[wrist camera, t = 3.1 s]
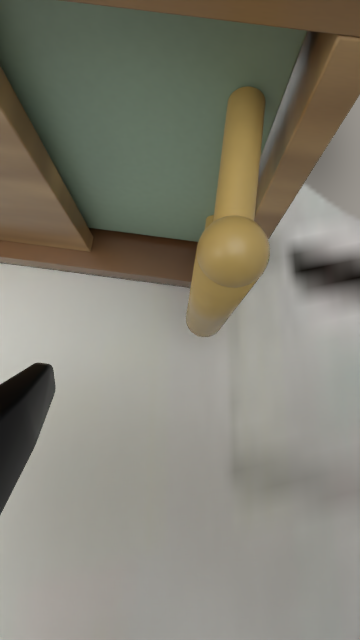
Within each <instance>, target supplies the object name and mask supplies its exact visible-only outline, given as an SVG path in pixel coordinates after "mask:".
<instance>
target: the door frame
mask: <svg viewBox="0 0 360 640" xmlns="http://www.w3.org/2000/svg"><path fill="white" fill-rule="evenodd" d="M59 1H67V2H75V3H84V4H92V5H100V6H108V7H116V8H125V9H133V10H141V11H149V12H157V13H166V14H174V15H182V16H190V17H198V18H207V19H215V20H223V21H231V22H239V23H248V24H256V25H264V26H272V27H280V28H289V29H297V30H305V31H308V32H307V34H306V37H305V40H304V42H303V45H302V48H301V50H300V53H299V56H298V58H297V61H296V64H295V67H294V69H293V72H292V75H291V77H290V80H289V83H288V85H287V88H286V91H285V93H284V96H283V99H282V101H281V104H280V107H279V109H278V112H277V115H276V118H275V120H274V123H273V126H272V128H271V131H270V134H269V136H268V139H267V142H266V144H265V147H264V150H263V152H262V155H261V158H260V166H259V176H258V187H257V197H256V208H255V219H254V222H256V223H257V224H258V225H259V226H260V227H261V228H262V229H263V231H264V232H265V234H266V236H267V238H268V239H269V238H270V236H271V234H272V233H273V231H274V230H275V228H276V226H277V225H278V223H279V222H280V220H281V219H282V217H283V215H284V214H285V212H286V211H287V209H288V208H289V206H290V204H291V203H292V201H293V200H294V198H295V196H296V195H297V193H298V192H299V190H300V189H301V187H302V185H303V184H304V182H305V181H306V179H307V177H308V176H309V174H310V173H311V171H312V170H313V168H314V166H315V165H316V163H317V162H318V160H319V158H320V157H321V155H322V154H323V152H324V151H325V149H326V147H327V146H328V144H329V143H330V141H331V139H332V138H333V136H334V135H335V133H336V132H337V130H338V128H339V127H340V125H341V124H342V122H343V120H344V119H345V117H346V116H347V114H348V113H349V111H350V109H351V108H352V106H353V105H354V103H355V101H356V100H357V98H358V96H359V95H360V0H59ZM197 245H198V242H196V241H188V240H180V239H172V238H165V237H157V236H149V235H142V234H134V233H126V232H119V231H111V230H103V229H95V228H88V226H87V224H86V222H85V221H84V219H83V217H82V215H81V213H80V211H79V210H78V208H77V206H76V204H75V202H74V200H73V198H72V197H71V195H70V193H69V191H68V189H67V187H66V186H65V184H64V182H63V180H62V178H61V176H60V175H59V173H58V171H57V169H56V167H55V165H54V163H53V162H52V160H51V158H50V156H49V154H48V152H47V151H46V149H45V147H44V145H43V143H42V141H41V139H40V138H39V136H38V134H37V132H36V130H35V128H34V127H33V125H32V123H31V121H30V119H29V117H28V116H27V114H26V112H25V110H24V108H23V106H22V104H21V103H20V101H19V99H18V97H17V95H16V93H15V92H14V90H13V88H12V86H11V84H10V82H9V80H8V79H7V77H6V75H5V73H4V71H3V69H2V68H1V66H0V263H7V264H15V265H22V266H30V267H38V268H45V269H53V270H60V271H68V272H76V273H83V274H91V275H98V276H106V277H114V278H121V279H129V280H136V281H144V282H152V283H159V284H167V285H174V286H182V287H190V288H191V282H192V275H193V269H194V263H195V256H196V250H197Z"/></svg>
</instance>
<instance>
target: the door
mask: <svg viewBox="0 0 360 640" xmlns="http://www.w3.org/2000/svg"><path fill="white" fill-rule="evenodd" d="M307 32H308V31H305V30H297V29H289V28H280V27H272V26H264V25H256V24H248V23H239V22H231V21H223V20H215V19H207V18H198V17H190V16H182V15H174V14H166V13H157V12H149V11H141V10H133V9H125V8H116V7H108V6H100V5H92V4H84V3H75V2H67V1H59V0H0V66H1V68H2V69H3V71H4V73H5V75H6V77H7V79H8V80H9V82H10V84H11V86H12V88H13V90H14V92H15V93H16V95H17V97H18V99H19V101H20V103H21V104H22V106H23V108H24V110H25V112H26V114H27V116H28V117H29V119H30V121H31V123H32V125H33V127H34V128H35V130H36V132H37V134H38V136H39V138H40V139H41V141H42V143H43V145H44V147H45V149H46V151H47V152H48V154H49V156H50V158H51V160H52V162H53V163H54V165H55V167H56V169H57V171H58V173H59V175H60V176H61V178H62V180H63V182H64V184H65V186H66V187H67V189H68V191H69V193H70V195H71V197H72V198H73V200H74V202H75V204H76V206H77V208H78V210H79V211H80V213H81V215H82V217H83V219H84V221H85V222H86V224H87V226H88V228H95V229H103V230H111V231H119V232H126V233H134V234H142V235H149V236H157V237H165V238H172V239H180V240H188V241H196V242H198V245H197V250H196V256H195V263H194V269H193V275H192V282H191V288H190V294H189V301H188V307H187V313H186V323H187V326H188V328H189V329H190V331H191V332H192V333H194V334H195V335H197V336H200V337H209V336H212V335H214V334H215V333H217V332H218V331H219V329H220V328H221V327H222V326H223V324H224V323H225V322H226V320H227V319H228V318H229V316H230V315H231V314H232V313H233V311H234V310H235V309H236V307H237V306H238V305H239V303H240V302H241V301H242V300H243V298H244V297H245V296H246V294H247V293H248V292H249V290H250V289H251V288H252V287H253V285H254V284H255V283H256V281H257V280H258V279H259V277H260V276H261V275H262V273H263V272H264V270H265V268H266V266H267V264H268V261H269V256H270V248H269V242H268V238H267V236H266V234H265V232H264V231H263V229H262V228H261V227H260V226H259V225H258V224H257V223H256V222H254V219H255V208H256V197H257V187H258V176H259V166H260V158H261V155H262V152H263V150H264V147H265V144H266V142H267V139H268V136H269V134H270V131H271V128H272V126H273V123H274V120H275V118H276V115H277V112H278V109H279V107H280V104H281V101H282V99H283V96H284V93H285V91H286V88H287V85H288V83H289V80H290V77H291V75H292V72H293V69H294V67H295V64H296V61H297V58H298V56H299V53H300V50H301V48H302V45H303V42H304V40H305V37H306V34H307Z"/></svg>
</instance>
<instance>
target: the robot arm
mask: <svg viewBox="0 0 360 640" xmlns="http://www.w3.org/2000/svg"><path fill="white" fill-rule="evenodd" d="M54 393H55V379H54V372H53V367H52V366H51V365H50V364H44V363H35V364H33V365H31V366H30V367H28V368H27V369H25V370H23V371H22V372H20V373H18V374H17V375H15V376H14V377H12V378H10V379H9V380H7V381H5V382H4V383H2V384H1V385H0V515H1V513H2V511H3V509H4V507H5V505H6V503H7V501H8V499H9V497H10V495H11V493H12V491H13V489H14V487H15V485H16V483H17V481H18V479H19V477H20V475H21V473H22V471H23V469H24V467H25V465H26V463H27V461H28V459H29V457H30V455H31V453H32V451H33V449H34V447H35V444H36V442H37V439H38V437H39V434H40V431H41V429H42V426H43V423H44V421H45V418H46V415H47V413H48V410H49V407H50V404H51V402H52V399H53V396H54Z"/></svg>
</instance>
